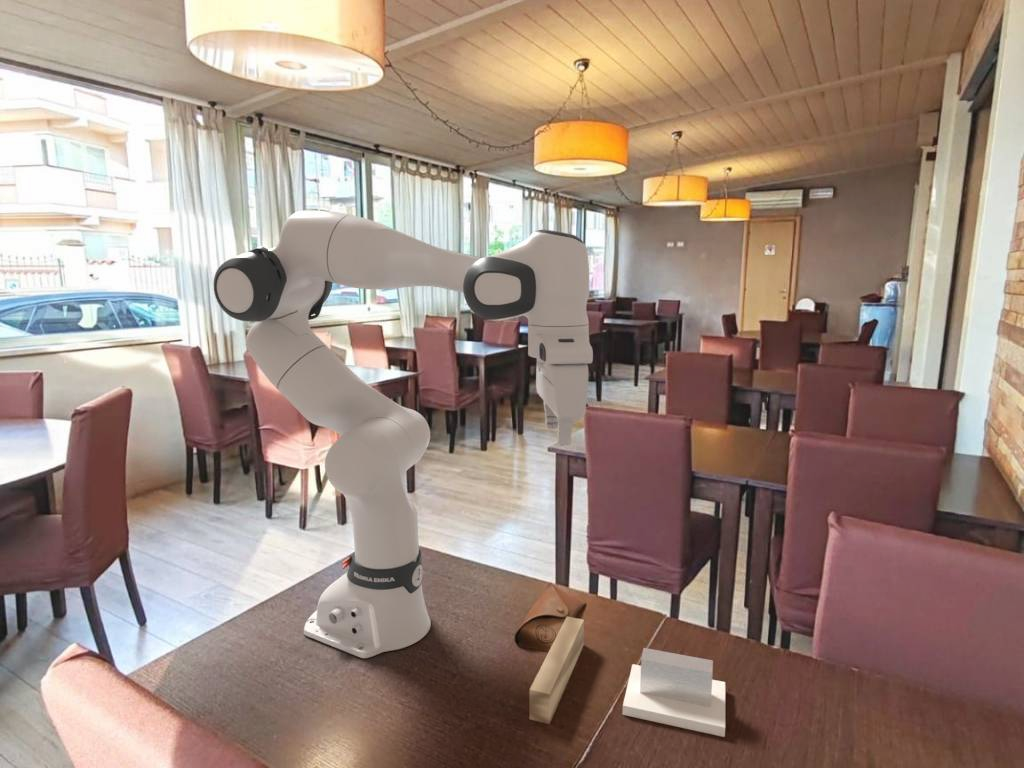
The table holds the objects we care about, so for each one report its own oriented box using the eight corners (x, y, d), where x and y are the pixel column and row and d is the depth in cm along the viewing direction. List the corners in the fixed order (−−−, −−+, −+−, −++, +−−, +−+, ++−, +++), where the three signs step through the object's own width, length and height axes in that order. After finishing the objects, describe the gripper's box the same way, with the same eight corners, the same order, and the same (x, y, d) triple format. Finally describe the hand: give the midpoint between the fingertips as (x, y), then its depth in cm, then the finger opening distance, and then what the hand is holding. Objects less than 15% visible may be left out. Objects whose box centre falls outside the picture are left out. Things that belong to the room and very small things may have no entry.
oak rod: (529, 720, 89) (529, 689, 88) (566, 642, 107) (566, 616, 106) (549, 725, 88) (549, 694, 87) (583, 646, 106) (583, 619, 105)
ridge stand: (622, 714, 90) (623, 671, 88) (632, 672, 99) (633, 632, 98) (724, 737, 85) (727, 691, 84) (724, 690, 94) (727, 649, 93)
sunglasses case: (561, 655, 103) (542, 619, 103) (527, 666, 106) (508, 632, 106) (587, 601, 120) (570, 571, 120) (557, 613, 123) (541, 583, 123)
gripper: (526, 336, 100) (527, 419, 103) (548, 353, 80) (548, 455, 83) (565, 336, 101) (564, 418, 104) (596, 352, 81) (594, 454, 84)
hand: (557, 435), depth 93 cm, fingers open, 8 cm apart
